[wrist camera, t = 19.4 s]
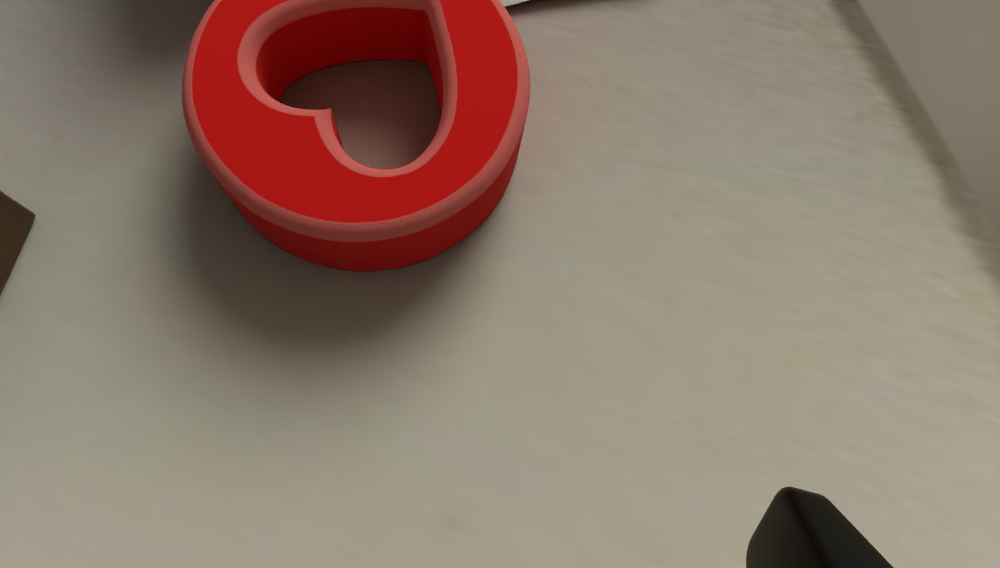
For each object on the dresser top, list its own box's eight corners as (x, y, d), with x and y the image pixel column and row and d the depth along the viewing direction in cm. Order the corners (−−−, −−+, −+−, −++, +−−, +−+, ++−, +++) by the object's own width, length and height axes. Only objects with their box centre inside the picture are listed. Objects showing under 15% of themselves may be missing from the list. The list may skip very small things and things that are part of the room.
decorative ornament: (550, 38, 25) (565, -25, 22) (474, 307, 22) (480, 278, 19) (274, -38, 25) (250, -112, 22) (165, 222, 22) (120, 179, 19)
